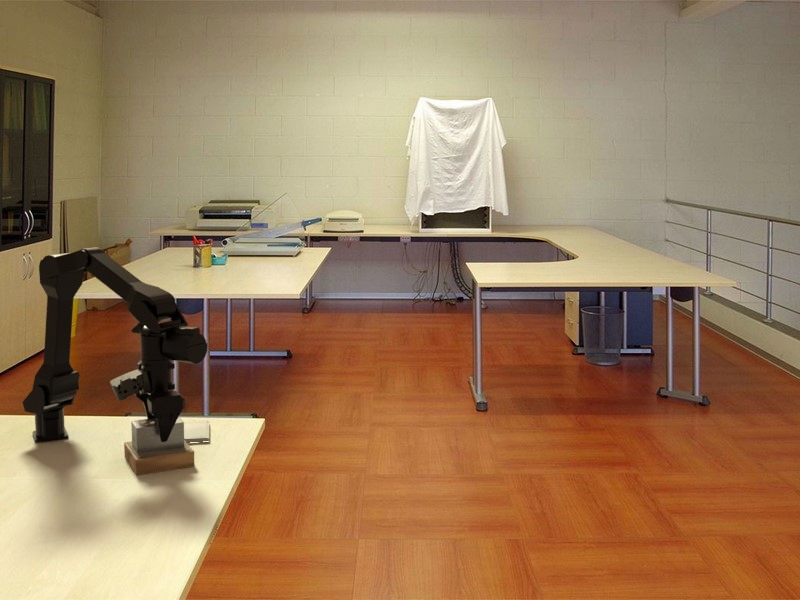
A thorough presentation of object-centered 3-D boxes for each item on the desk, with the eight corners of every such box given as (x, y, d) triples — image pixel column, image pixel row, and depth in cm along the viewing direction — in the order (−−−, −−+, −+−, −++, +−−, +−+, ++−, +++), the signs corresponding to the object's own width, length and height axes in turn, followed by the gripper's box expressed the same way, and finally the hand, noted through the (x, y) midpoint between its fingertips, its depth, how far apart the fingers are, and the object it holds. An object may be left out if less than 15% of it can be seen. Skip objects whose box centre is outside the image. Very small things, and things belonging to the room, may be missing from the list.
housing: (178, 439, 162) (177, 414, 161) (184, 446, 158) (183, 421, 157) (132, 445, 158) (131, 420, 157) (137, 453, 153) (136, 427, 153)
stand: (124, 456, 160) (124, 441, 160) (179, 448, 166) (179, 434, 165) (136, 475, 151) (135, 459, 150) (194, 465, 156) (194, 450, 156)
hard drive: (209, 437, 170) (209, 419, 182) (169, 439, 168) (171, 421, 180) (209, 445, 170) (209, 426, 182) (169, 447, 168) (172, 428, 180)
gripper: (104, 351, 159) (106, 426, 161) (122, 372, 143) (125, 455, 145) (161, 346, 164) (162, 419, 167) (185, 366, 149) (186, 446, 151)
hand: (158, 434), depth 157 cm, fingers open, 9 cm apart
